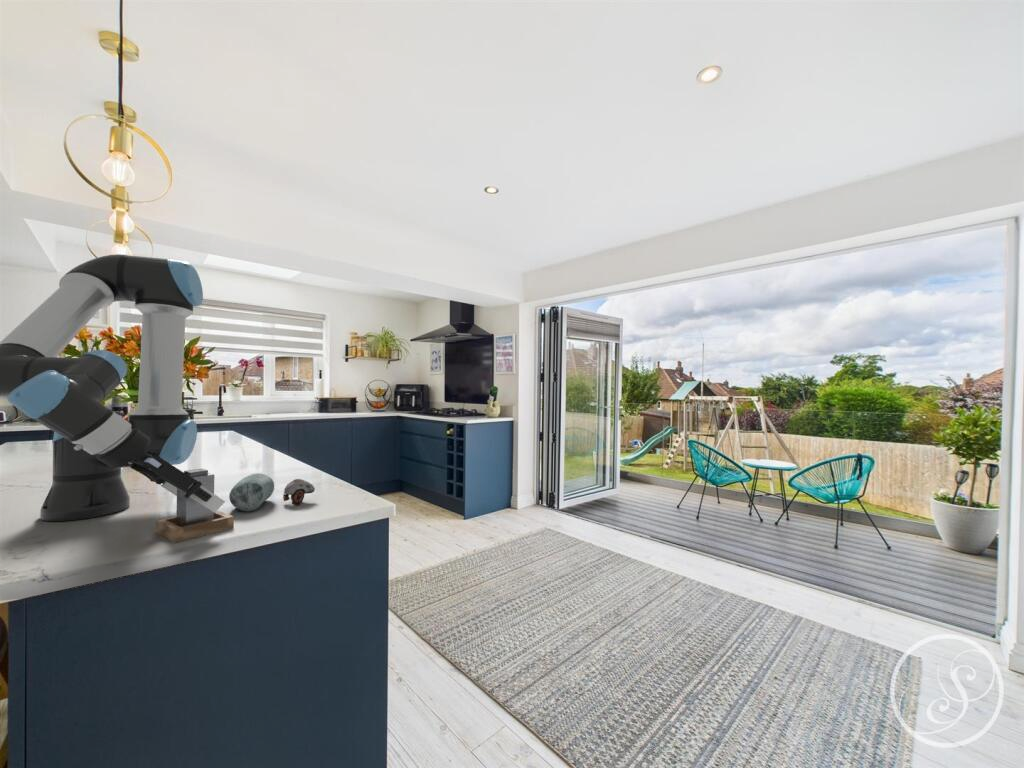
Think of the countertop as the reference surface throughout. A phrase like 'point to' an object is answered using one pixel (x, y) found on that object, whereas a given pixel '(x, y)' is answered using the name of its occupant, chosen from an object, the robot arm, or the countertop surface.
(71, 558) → the countertop surface
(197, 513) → the grey upright rectangular pillar
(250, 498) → the mottled river stone
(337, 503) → the countertop surface
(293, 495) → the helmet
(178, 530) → the tray
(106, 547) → the countertop surface
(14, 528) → the countertop surface
